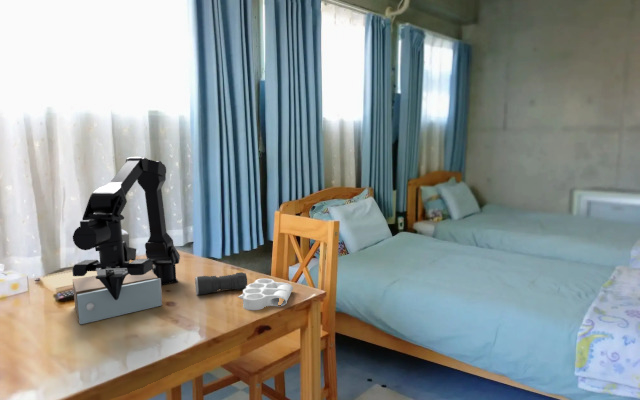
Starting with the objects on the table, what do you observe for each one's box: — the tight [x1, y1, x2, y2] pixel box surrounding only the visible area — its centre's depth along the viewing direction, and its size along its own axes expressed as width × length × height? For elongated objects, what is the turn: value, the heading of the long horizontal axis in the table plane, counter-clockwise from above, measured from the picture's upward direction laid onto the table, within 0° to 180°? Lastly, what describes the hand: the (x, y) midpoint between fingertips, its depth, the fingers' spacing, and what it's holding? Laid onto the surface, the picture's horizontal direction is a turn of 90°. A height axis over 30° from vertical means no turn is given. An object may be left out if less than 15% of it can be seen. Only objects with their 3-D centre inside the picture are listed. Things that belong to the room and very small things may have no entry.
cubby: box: [72, 270, 158, 321], centre depth 122 cm, size 20×12×8 cm, turn 123°
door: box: [77, 278, 163, 325], centre depth 115 cm, size 20×2×8 cm, turn 127°
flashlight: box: [194, 271, 248, 296], centre depth 133 cm, size 15×5×5 cm, turn 110°
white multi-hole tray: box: [237, 278, 294, 311], centre depth 127 cm, size 3×18×15 cm
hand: (116, 299), depth 113 cm, fingers closed
